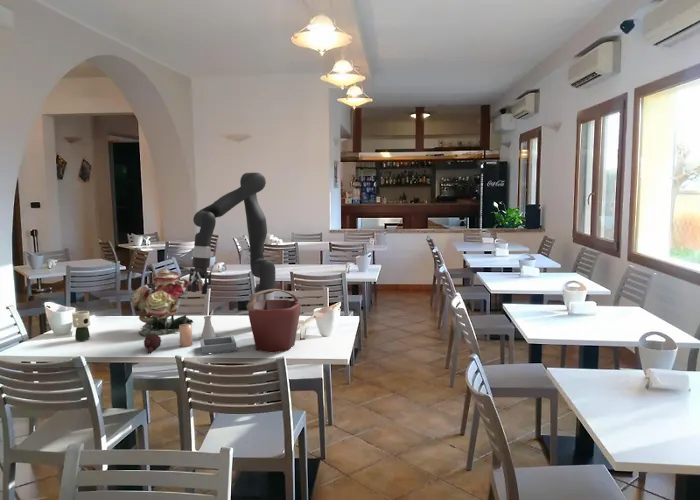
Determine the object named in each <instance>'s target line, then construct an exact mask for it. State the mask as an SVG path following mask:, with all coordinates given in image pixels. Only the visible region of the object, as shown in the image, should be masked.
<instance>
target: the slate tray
mask: <svg viewBox="0 0 700 500" xmlns="http://www.w3.org/2000/svg"><path fill="white" fill-rule="evenodd" d="M200 350H201V355H202V354H206V355H210V354H209V353H216V354H221V353H220V352H226V353H233V352H232V351H236V352H237V342H236V339H235V337H234V335H232V336H230V335H229V336H222V337H220V336H219V337H216V338H207V339H200Z"/></svg>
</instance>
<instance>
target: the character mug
mask: <svg viewBox="0 0 700 500" xmlns="http://www.w3.org/2000/svg"><path fill="white" fill-rule="evenodd" d="M71 315H72V316H71V317H72V325H73V328H75V336H74V339H75V341H80V342H83V341H88V340H90V339H91V336H90V331H89V326H91V321H90V318H91V317H90V311H89V310H78V311H74V312H72V314H71Z"/></svg>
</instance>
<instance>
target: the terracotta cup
mask: <svg viewBox="0 0 700 500" xmlns="http://www.w3.org/2000/svg"><path fill="white" fill-rule="evenodd" d="M192 330H193V329H192V323H187V324H182V325H179V332H178V334H179V346H180V347H181V348H187V347H192V346H193V331H192Z"/></svg>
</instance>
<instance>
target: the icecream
mask: <svg viewBox="0 0 700 500" xmlns="http://www.w3.org/2000/svg"><path fill="white" fill-rule="evenodd" d="M144 337H145V336H144ZM161 342H162V338H161V336H158V335H156V334H149V335H148V336H146V337H145V338H144V341H143V346H144V348H146V349H147V353H148V354H149V353H150V354H152V352H153V351H154V350H156V349H157V348H159V347H160V346H161Z"/></svg>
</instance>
